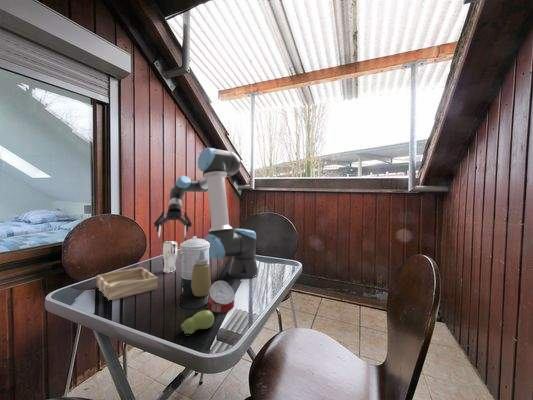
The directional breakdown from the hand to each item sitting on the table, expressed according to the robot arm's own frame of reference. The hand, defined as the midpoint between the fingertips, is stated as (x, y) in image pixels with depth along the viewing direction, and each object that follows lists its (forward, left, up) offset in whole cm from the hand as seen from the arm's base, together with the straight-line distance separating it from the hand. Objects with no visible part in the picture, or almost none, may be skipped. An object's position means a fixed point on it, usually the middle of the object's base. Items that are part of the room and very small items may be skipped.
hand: (172, 236), depth 137 cm
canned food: (-58, +8, -17) cm, 61 cm away
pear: (-66, +22, -17) cm, 72 cm away
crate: (-19, +28, -16) cm, 38 cm away
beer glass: (-9, +5, -16) cm, 19 cm away
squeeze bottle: (-44, +8, -16) cm, 48 cm away
